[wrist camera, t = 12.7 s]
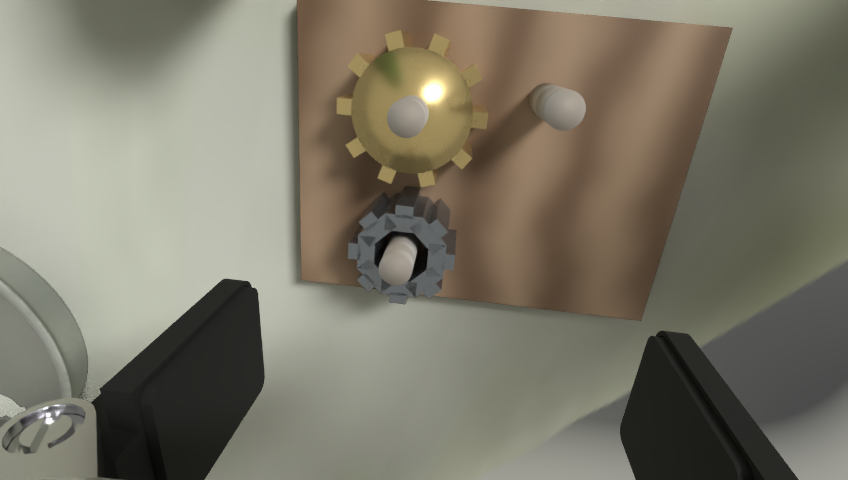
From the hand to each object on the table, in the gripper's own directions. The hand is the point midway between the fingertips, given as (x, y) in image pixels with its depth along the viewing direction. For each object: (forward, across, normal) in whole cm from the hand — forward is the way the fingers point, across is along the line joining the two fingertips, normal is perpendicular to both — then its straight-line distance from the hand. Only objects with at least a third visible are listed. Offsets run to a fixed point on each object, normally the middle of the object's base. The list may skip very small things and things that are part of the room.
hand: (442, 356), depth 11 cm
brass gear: (+22, +3, -3) cm, 22 cm away
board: (+24, -2, +1) cm, 24 cm away
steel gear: (+21, +4, +6) cm, 22 cm away
